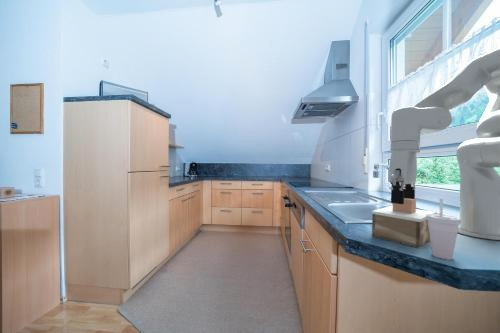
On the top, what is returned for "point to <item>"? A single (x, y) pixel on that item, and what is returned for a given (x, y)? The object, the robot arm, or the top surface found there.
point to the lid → (404, 211)
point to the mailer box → (400, 230)
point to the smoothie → (443, 233)
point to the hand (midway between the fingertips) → (403, 202)
